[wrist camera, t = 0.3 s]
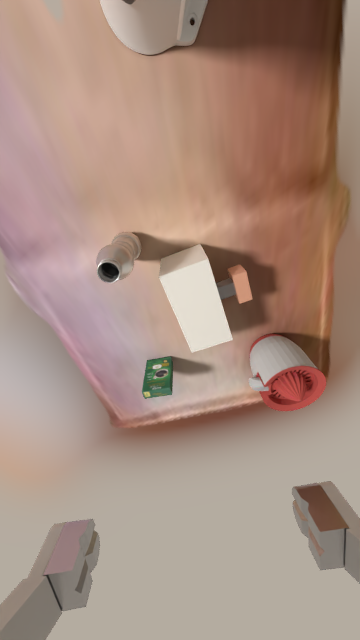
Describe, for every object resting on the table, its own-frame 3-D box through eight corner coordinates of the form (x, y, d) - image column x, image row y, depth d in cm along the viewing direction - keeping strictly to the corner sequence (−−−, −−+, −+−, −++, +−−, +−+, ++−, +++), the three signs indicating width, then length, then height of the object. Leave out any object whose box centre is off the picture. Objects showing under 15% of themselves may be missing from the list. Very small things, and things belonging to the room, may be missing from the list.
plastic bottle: (147, 251, 54) (137, 282, 37) (122, 262, 55) (101, 297, 38) (134, 225, 51) (116, 244, 34) (108, 237, 52) (78, 262, 35)
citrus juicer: (235, 333, 67) (258, 384, 50) (295, 322, 66) (339, 370, 49) (239, 372, 75) (260, 427, 58) (292, 362, 74) (329, 416, 57)
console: (200, 243, 54) (208, 258, 43) (221, 312, 64) (232, 339, 52) (161, 258, 55) (158, 276, 44) (187, 324, 65) (191, 352, 54)
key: (239, 264, 52) (246, 271, 48) (246, 290, 56) (252, 299, 51) (198, 279, 54) (201, 287, 49) (207, 304, 57) (210, 313, 53)
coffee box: (148, 366, 73) (144, 400, 61) (145, 360, 71) (141, 392, 60) (172, 362, 72) (173, 395, 61) (171, 355, 71) (171, 387, 59)
